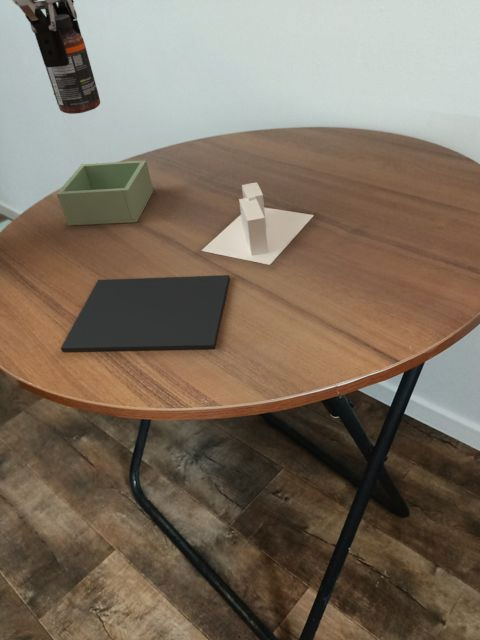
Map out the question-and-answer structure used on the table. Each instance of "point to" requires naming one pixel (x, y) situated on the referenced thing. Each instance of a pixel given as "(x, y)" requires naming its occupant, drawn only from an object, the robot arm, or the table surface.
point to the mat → (150, 314)
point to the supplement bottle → (73, 73)
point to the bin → (106, 193)
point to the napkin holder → (257, 230)
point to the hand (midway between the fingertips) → (66, 58)
